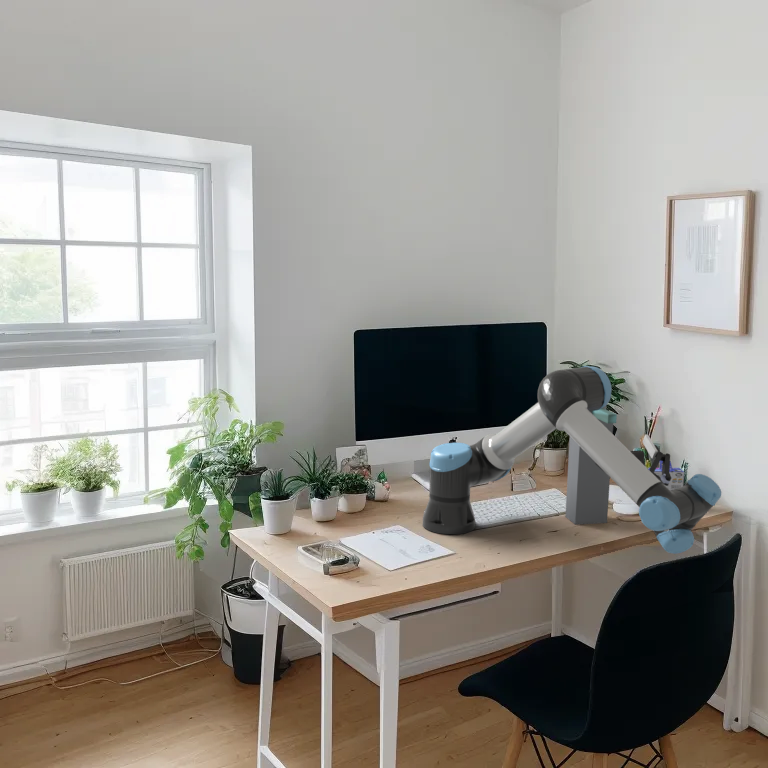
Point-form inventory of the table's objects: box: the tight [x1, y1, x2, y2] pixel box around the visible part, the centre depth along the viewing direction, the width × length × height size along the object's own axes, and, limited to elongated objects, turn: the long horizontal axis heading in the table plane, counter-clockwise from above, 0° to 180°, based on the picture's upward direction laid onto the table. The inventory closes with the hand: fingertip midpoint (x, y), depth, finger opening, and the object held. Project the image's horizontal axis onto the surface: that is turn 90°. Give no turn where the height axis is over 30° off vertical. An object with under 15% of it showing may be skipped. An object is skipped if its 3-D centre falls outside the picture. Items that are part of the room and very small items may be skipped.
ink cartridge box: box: [648, 460, 685, 491], centre depth 245 cm, size 10×6×14 cm, turn 89°
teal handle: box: [591, 405, 618, 424], centre depth 223 cm, size 6×16×6 cm, turn 10°
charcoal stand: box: [565, 419, 614, 525], centre depth 230 cm, size 10×7×32 cm
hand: (621, 438), depth 211 cm, fingers open, 13 cm apart
